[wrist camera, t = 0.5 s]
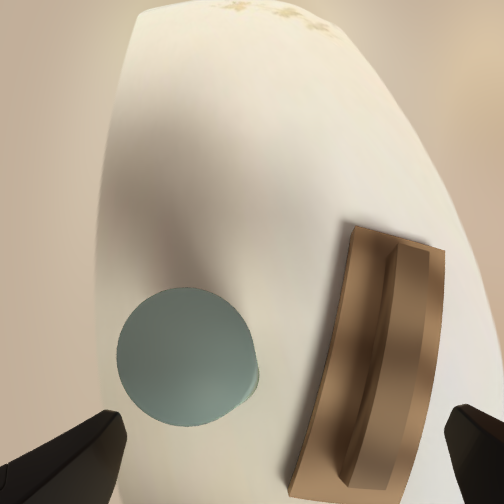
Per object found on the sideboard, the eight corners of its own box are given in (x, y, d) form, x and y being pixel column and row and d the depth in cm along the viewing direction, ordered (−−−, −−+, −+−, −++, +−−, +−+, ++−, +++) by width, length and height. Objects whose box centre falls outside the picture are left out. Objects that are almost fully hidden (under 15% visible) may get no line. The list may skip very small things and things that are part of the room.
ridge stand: (390, 500, 16) (412, 516, 12) (287, 490, 17) (292, 509, 13) (436, 258, 24) (459, 236, 20) (350, 234, 25) (364, 208, 21)
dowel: (269, 392, 20) (277, 399, 9) (207, 414, 20) (140, 440, 8) (245, 333, 22) (225, 268, 10) (185, 355, 21) (103, 312, 10)
